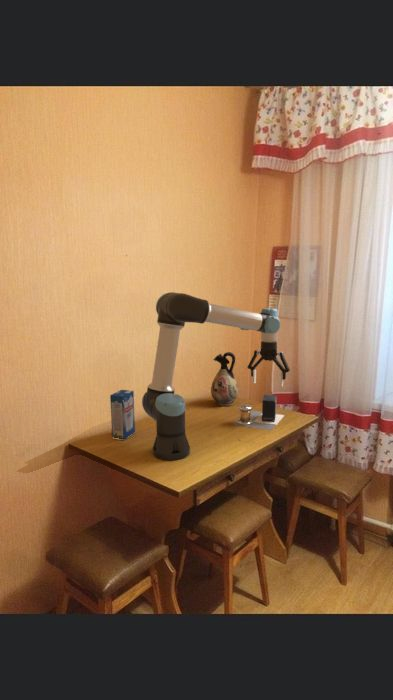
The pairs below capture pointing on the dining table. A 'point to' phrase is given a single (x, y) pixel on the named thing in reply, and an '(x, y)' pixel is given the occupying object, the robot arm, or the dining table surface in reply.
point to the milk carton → (122, 414)
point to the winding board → (258, 422)
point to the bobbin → (244, 414)
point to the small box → (269, 408)
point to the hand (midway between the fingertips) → (267, 384)
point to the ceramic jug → (224, 382)
